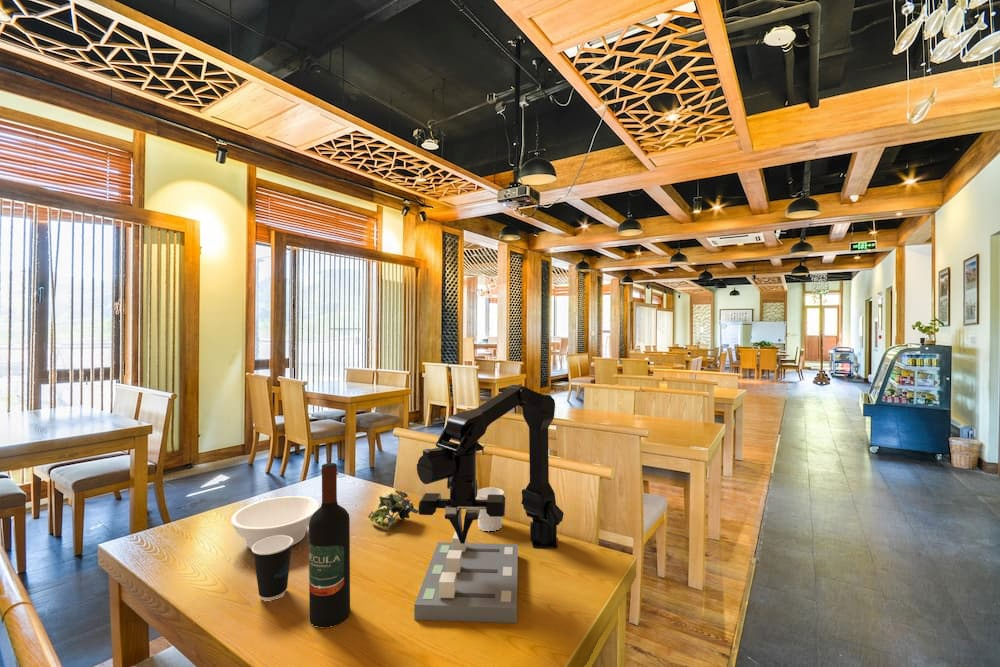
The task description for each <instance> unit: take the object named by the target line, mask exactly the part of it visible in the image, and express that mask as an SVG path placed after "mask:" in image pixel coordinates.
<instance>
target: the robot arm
mask: <svg viewBox="0 0 1000 667" xmlns="http://www.w3.org/2000/svg"><path fill="white" fill-rule="evenodd" d="M518 406H519V407H520V408H521V409H522V410H521V411H522V417H523V419H524V421H525V422H526V424H527V426H528V437H529V439H528V440H529V441H528V442H529V443H528V445H529V446H528V449H529V450H528V453H529V458H528V460H529V482H528V484H527V486H526V487H525V488H523V489H522V490H521V497H522V498H521V503H520V504H521V505H522V508H523V510H524V511H525V513H526V517H528V518H532V519H531V520H532V521H530V522H529V523H530V524H529V526H530V527H529V531H530V532H529V534H530V535H529V536H530V537H529V540H530V542H531V543H532V544H531V546H532V547H533V548H549V547H555V549H556V547H557V548H558V538H557V534H558V533H557V527H558V526H559V525H560V523H561V522H562V521H563V519H564V511H562V509H561V508H560V507H559V506H558V505H557V502H556V501H557V500H556V493H555V491H554V489H553V488H552V485H551V483H550V479H549V478H550V474H549V473H550V470H549V469H550V468H549V467H550V465H549V463H550V462H549V428H550V425H551V424H552V422H553V420H554V419H555V411H556V401H555V399H554V398H553V397H552V395H549V394H544V393H539V392H537V391H534V390H532V389H530V388H528V387H527V386H525V385H517V384H511V385H509V386H508V387H507V388H506V389H505V390H503V391H501V392H500V393H498V394H497V395H495V396H494V397H492V398H490V399H489V400H487V401H486V402H484V403H482V404H481V405H479V406H478V407H475V408H473V409H467V410H463V411H460V412H458V413H456V414H453V415H451V416H449V418H448V419H446V425H445V427H444V429H443V431H442V432H441V434H440V436H439V437H438V440H437V441H436V443H435V448H427V449H425V448H424V449H423V450H422V455H421V456H420V457H419V458H418V461H417V464H416V473H417V476H418V478H419V481H420V482H422V483H423V484H424V485H429V484H432V483H436V482H439V481H443V480H446V479H447V481H446V487H447V489H448V490H449V498H442V495H441V493H438V492H436V493H435V492H433V493H432V492H430V493H429V492H425V493H424V494H423V495H422V497H421V499H420V500H419V503H418V515H421V516H433V515H434V514H435V513H436V512H437V509H444V510H445V515H444V519H445V520H449V522H450V524H451V525H452V527H453V528H454V530H455V531H454V532H456V533H457V536H458V538H459V541H460V543H461V544H462V543H463V544H464V543H465V540H466V536H467V537H468V533H469V529H470V528H471V527H472V524H473V521H476V520H477V521H478V517H479V513H480V509H486V513H487V514H488V515H489V516H490V517H505V513H506V497H505V495H504V496H503V495H490V494H488V498H487V500H479V499H476V497H477V491H478V479H477V477H476V476H477V468H476V467H477V462H476V461H477V452H480V451H482V450H484V449H485V448H484V446H483V445H482V444H480V443H479V440H480V439H482V437H483V436H484V435H485V434H486V432H487V429H488V427H490V425H491V424H493V423H494V422H495V421H497V420H498V419H500V418H501V417H503V416H504V415H506V414H507V413H509V412H511V411H512V410H513V409H515V408H516V407H518ZM451 440H452V441H451ZM453 441H455V442H453ZM456 442H458V443H456ZM462 510H465V515H464V519H463V518H462ZM463 520H464V521H463Z"/></svg>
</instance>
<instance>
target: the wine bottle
mask: <svg viewBox="0 0 1000 667" xmlns="http://www.w3.org/2000/svg"><path fill="white" fill-rule="evenodd" d="M320 471H321V472H320V473H321V474H320V475H321V504H320V507H319V509H318V510H317V511H316V512H314V514H313V515H312V517H311V518H310V521H309V526H308V573H309V574H308V577H309V579H308V580H309V581H308V584H309V585H308V587H309V589H308V590H309V592H308V593H309V596H308V597H309V598H308V599H309V607H308V609H309V610H308V611H309V623H310V622H311V623H310V625H311V624H313V625H314V626H318V627H329V628H331V627H330V626H334V625H336V626H339V625H340V624H341V622H342V623H343V622H345V621H346V620H347V619H348V618H349V616H350V615H351V558H350V557H351V548H350V547H351V544H350V543H351V538H350V537H351V536H350V535H351V534H350V532H351V531H350V528H351V525H350V522H351V521H350V514H349V512H348V511H347V510H346V509H345V507H343V506H341V505H340V504H338V500H337V497H338V492H337V491H338V490H337V489H338V488H337V487H338V486H337V484H338V483H337V482H338V479H337V476H338V475H337V473H338V466H337V463H335V462H327V463H323V464H321V470H320ZM313 625H312V626H313ZM314 626H313V627H314ZM334 627H335V626H334Z"/></svg>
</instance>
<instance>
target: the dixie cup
mask: <svg viewBox="0 0 1000 667" xmlns="http://www.w3.org/2000/svg"><path fill="white" fill-rule="evenodd" d="M292 544H293V538H291V537H290V536H285V535H277V536H271V537H267V538H264V539H262V540H260V541H258V542H256V543H255V544H254V545H253V546H252V549H251V552H252V553H253V559H254V567H255V569H254V570H255V576H256V582H257V590H258V595H259V596H260V600H261V599H263V600H267V601H268V600H273V599H276V598H279V597H281V596H282V595H283V594H284V593H285V592H287V589H288V583H289V573H290V563H291V557H292V556H291V555H292V547H293V545H292ZM285 594H286V593H285ZM281 598H282V597H281Z"/></svg>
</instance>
